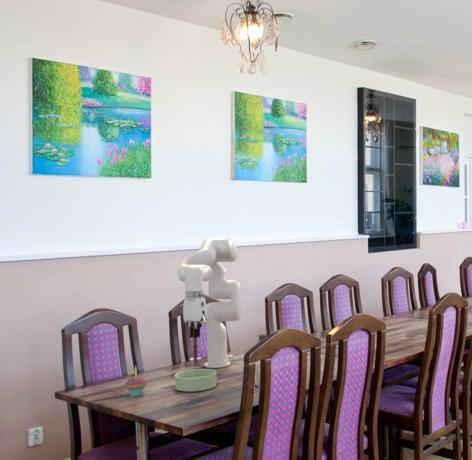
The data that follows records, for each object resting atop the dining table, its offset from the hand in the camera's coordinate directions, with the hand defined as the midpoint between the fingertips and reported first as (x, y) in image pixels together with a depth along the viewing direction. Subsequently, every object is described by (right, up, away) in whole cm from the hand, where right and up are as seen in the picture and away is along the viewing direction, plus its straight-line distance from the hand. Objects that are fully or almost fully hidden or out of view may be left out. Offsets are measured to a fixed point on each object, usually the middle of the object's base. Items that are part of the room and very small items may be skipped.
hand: (195, 337), depth 279 cm
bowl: (0, -22, +1) cm, 22 cm away
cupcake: (-22, -23, -10) cm, 33 cm away
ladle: (0, -12, 0) cm, 12 cm away
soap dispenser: (+30, -22, +4) cm, 37 cm away
